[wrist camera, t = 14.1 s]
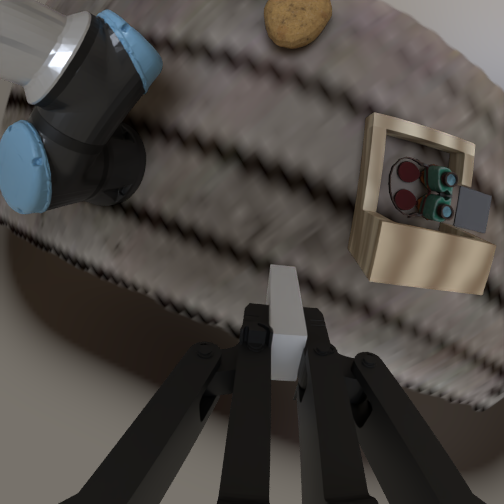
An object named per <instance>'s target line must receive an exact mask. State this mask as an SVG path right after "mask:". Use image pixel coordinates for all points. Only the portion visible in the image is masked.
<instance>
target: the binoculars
mask: <svg viewBox="0 0 504 504" xmlns="http://www.w3.org/2000/svg"><path fill="white" fill-rule="evenodd" d="M404 158H408V159H412V160H413V161H415V162H417V163H418V164H419V165H420V166H423V167H425V169H424V171H422V172H419V169H418V168H417V167H416V165H414V164H413V163H411V162H408V161H405V162H402V163H401V164H400V165H399V166H398V175H399V177H400V178H401V179H402V180H403V181H405V182H413V181H415V180H417V179H418V177H420V180H421V182H422V183H423V184H424V185H425V186H426V188H427V189H428V193H427V194H425V195H424V196H423V197H421V198H419V199H418V200H417V201H416V198H415V196H414V195H413V194H412V193H411V192H410V191H408V190H405V189H403V190H400V191H398V192H397V193H396V194H395V196H394V200H393V197H392V193H391V174H392V171H393V168H394V166H395V165H396V164H397V163H398V162H399V161H400V160H401V159H404ZM404 158H401V159H399V160H398V161H397V162H396V163H395V164H394V165H393V166H392V167H391V171H390V174H389V182H388V185H389V193H390V197H391V200H392V202H393V204H394V206H395V207H396V209H397V210H399V209H400V210H409V209H411V208H413V207H414V206H415V205H417V208H418V210H419V213H411V214H404V213H403V212H402V211H400V210H399V211H400V212H401V213H402V214H404V215H407V216H408V218H409V217H411V216H422V217H423V218H425V219H426V220H434V221H438V222H443V221H444V220H451V219H452V218H453V216H454V211H453V208H452V207H451V206H450V205H451V199H452V190H453V187H455V186H456V185H457V184H458V180H459V179H458V175H457V174H456V173H455V172H451V170H450V169H449V168H446V167H441V166H437V165H435V164H433V165H426V164H424V163H422V162H420V161H419V160H417V159H414V158H410V157H404ZM424 165H425V166H424ZM431 191H436V192H437V193H439V194H437V195H435V194H430V193H431ZM398 208H399V209H398Z"/></svg>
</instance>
